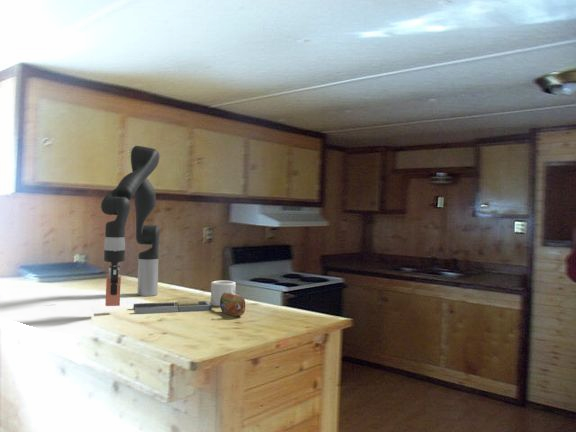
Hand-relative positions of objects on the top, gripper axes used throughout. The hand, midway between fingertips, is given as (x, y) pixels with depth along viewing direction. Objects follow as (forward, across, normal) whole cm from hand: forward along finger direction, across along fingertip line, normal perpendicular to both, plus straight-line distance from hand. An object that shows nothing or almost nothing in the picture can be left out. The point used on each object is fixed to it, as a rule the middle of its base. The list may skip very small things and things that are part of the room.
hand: (113, 293), depth 186 cm
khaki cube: (+8, -2, +31) cm, 32 cm away
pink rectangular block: (+4, 0, 0) cm, 4 cm away
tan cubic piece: (+8, -2, +27) cm, 28 cm away
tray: (+8, -2, +31) cm, 32 cm away
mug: (+9, -14, +47) cm, 50 cm away
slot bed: (+8, -2, +16) cm, 18 cm away
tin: (+9, +8, +45) cm, 46 cm away
